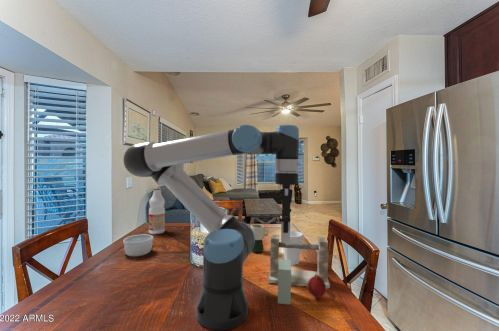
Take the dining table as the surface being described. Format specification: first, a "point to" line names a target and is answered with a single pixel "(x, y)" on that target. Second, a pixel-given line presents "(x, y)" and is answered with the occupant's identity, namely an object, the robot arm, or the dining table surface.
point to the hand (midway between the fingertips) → (285, 236)
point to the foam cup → (292, 252)
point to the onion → (316, 286)
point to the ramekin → (138, 244)
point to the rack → (299, 275)
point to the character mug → (258, 236)
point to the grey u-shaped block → (284, 281)
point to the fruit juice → (156, 212)
